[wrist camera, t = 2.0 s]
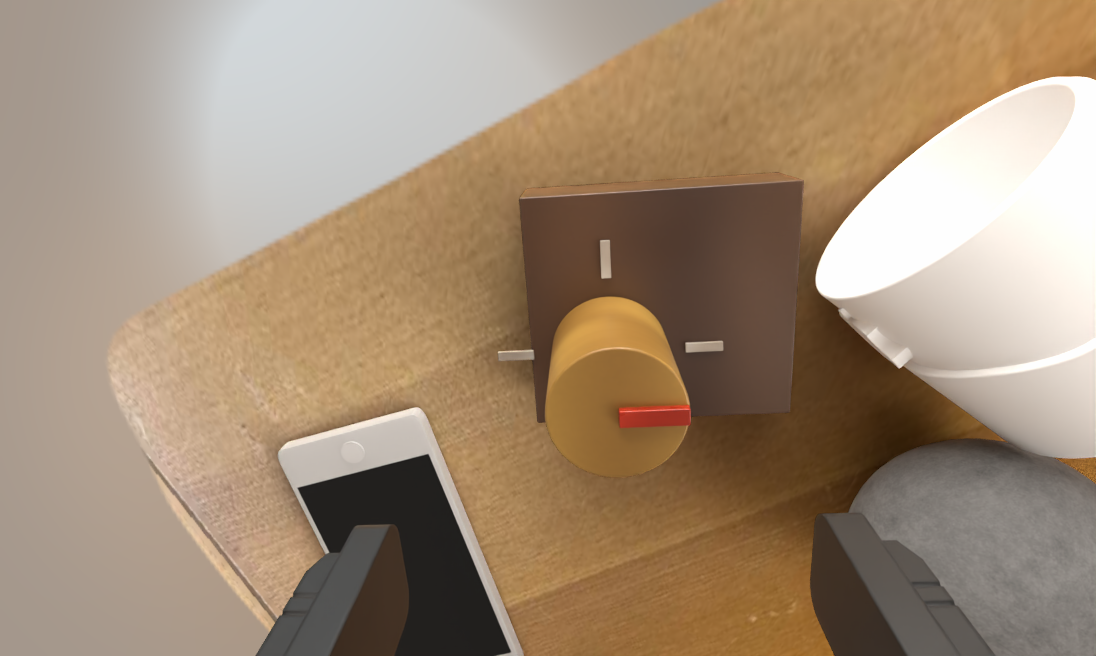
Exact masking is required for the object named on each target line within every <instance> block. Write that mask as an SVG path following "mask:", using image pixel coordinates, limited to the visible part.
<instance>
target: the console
mask: <svg viewBox="0 0 1096 656" xmlns="http://www.w3.org/2000/svg"><path fill="white" fill-rule="evenodd" d="M803 188H804V180H801V179H798V178H795V177H792V176H788V175H785V174H782V173H778V172H775V173H760V174H744V175H729V176H713V177H698V178H682V179H667V180H651V181H636V182H620V183H605V184H589V185H574V186H558V187H543V188H527V189H526V190H525V191H524V193H523V194H522V195H521V197H520V198H519V203H520V216H521V228H522V240H523V252H524V264H525V276H526V289H527V301H528V313H529V325H530V337H531V350H518V351H498V361H514V360H532V362H533V374H534V386H535V398H536V411H537V422H538V423H542V422H546V421H545V403H546V395H547V386H548V378H549V369H550V361H551V352H552V344H553V339H554V335H555V332H556V330H557V328H558V326H559V324H560V323H561V321H562V320H563V319H564V317H565V316H566V315H567V314H568V313H569V312H570V311H571V310H573V309H574V308H575V307H577V306H578V305H580V304H582V303H584V302H586V301H589V300H591V299H595V298H599V297H621V298H626V299H629V300H632V301H634V302H637V303H639V304H640V305H642V306H644V307H645V308H646V309H648V310H649V311H650V312H651V313H652V314H653V315H654V316H655V317H656V319H657V320H658V321H659V323H660V325H661V326H662V328H663V331H664V333H665V336H666V339H667V341H668V344H669V346H670V349H671V352H672V354H673V357H674V359H675V362H676V365H677V367H678V370H679V373H680V375H681V378H682V380H683V383H684V386H685V388H686V391H687V393H688V397H689V402H690V409H691V417H694V416H719V415H744V414H770V413H790V405H791V388H792V372H793V355H794V338H795V322H796V305H797V288H798V271H799V255H800V238H801V221H802V205H803Z"/></svg>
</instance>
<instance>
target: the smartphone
mask: <svg viewBox="0 0 1096 656" xmlns="http://www.w3.org/2000/svg"><path fill="white" fill-rule="evenodd" d="M278 460H279V462H280V465H281V467H282V469H283V471H284V473H285V475H286V477H287V479H288V481H289V483H290V485H291V487H292V489H293V491H294V493H295V495H296V497H297V499H298V501H299V503H300V505H301V507H302V509H303V511H304V513H305V515H306V517H307V519H308V521H309V523H310V525H311V527H312V529H313V531H314V533H315V535H316V537H317V539H318V541H319V543H320V545H321V547H322V549H323V551H324V553H325V555H326V554H327V553H340V552H341V550H342V548H343V546H344V544H345V543H346V541H347V539H348V537H349V535H350V533H351V532H352V530H353V528H354V527H355V526H357V525H390V524H394V525H395V526H396V527H397V529H398V532H399V537H400V542H401V548H402V554H403V559H404V565H405V571H406V576H407V582H408V588H409V607H408V614H407V619H406V623H405V626H404V629H403V632H402V635H401V638H400V640H399V643H398V646H397V649H396V652H395V655H394V656H524V654H523V651H522V648H521V646H520V644H519V641H518V639H517V636H516V634H515V631H514V629H513V626H512V624H511V622H510V619H509V617H508V614H507V612H506V609H505V607H504V604H503V602H502V600H501V597H500V595H499V592H498V590H497V587H496V585H495V583H494V580H493V578H492V575H491V573H490V570H489V568H488V565H487V563H486V561H485V558H484V556H483V553H482V551H481V548H480V546H479V543H478V541H477V539H476V536H475V534H474V531H473V529H472V526H471V524H470V521H469V519H468V517H467V514H466V512H465V509H464V507H463V504H462V502H461V500H460V497H459V495H458V492H457V490H456V487H455V485H454V482H453V480H452V478H451V475H450V473H449V470H448V468H447V465H446V463H445V460H444V458H443V456H442V453H441V451H440V448H439V446H438V443H437V441H436V439H435V436H434V434H433V431H432V429H431V426H430V424H429V421H428V419H427V417H426V415H425V413H424V412H423V411H422V410H421V409H420V408H417V407H415V408H411V409H407V410H404V411H400V412H396V413H393V414H389V415H385V416H382V417H378V418H374V419H371V420H367V421H363V422H359V423H356V424H352V425H348V426H345V427H341V428H337V429H334V430H330V431H326V432H323V433H319V434H315V435H312V436H308V437H304V438H301V439H297V440H293V441H289V442H287V443H286V444H285V445H284V446H283V447H282V448H281V449H280V451H279V452H278Z"/></svg>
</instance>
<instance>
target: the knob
mask: <svg viewBox="0 0 1096 656" xmlns="http://www.w3.org/2000/svg"><path fill="white" fill-rule="evenodd" d="M545 421H546V427H547V430H548V433H549V436H550V438H551V440H552V442H553V444H554V445H555V447H556V448H557V450H558V451H559V452H560V453H561V454H562V455H563V456H564V457H565V458H566V459H567V460H568V461H569V462H570V463H572V464H573V465H575V466H576V467H578V468H580V469H582V470H584V471H586V472H589V473H591V474H594V475H598V476H602V477H610V478H623V477H631V476H636V475H639V474H642V473H645V472H648V471H650V470H652V469H654V468H656V467H657V466H659V465H661V464H662V463H663V462H665V461H666V460H667V459H668V458H669V457H670V456H671V455H672V454H673V453H674V452H675V451H676V450H677V448H678V447H679V446H680V444H681V442H682V441H683V439H684V437H685V434H686V432H687V429H688V426H689V425H691V409H690V402H689V397H688V393H687V391H686V388H685V386H684V383H683V380H682V378H681V375H680V373H679V370H678V367H677V365H676V362H675V359H674V357H673V354H672V352H671V349H670V346H669V344H668V341H667V339H666V336H665V333H664V331H663V328H662V326H661V325H660V323H659V321H658V320H657V319H656V317H655V316H654V315H653V314H652V313H651V312H650V311H649V310H648V309H646V308H645V307H644V306H642V305H640V304H639V303H637V302H634V301H632V300H629V299H626V298H621V297H599V298H595V299H591V300H589V301H586V302H584V303H582V304H580V305H578V306H577V307H575V308H574V309H573V310H571V311H570V312H569V313H568V314H567V315H566V316H565V317H564V319H563V320H562V321H561V323H560V324H559V326H558V328H557V330H556V332H555V335H554V339H553V344H552V352H551V361H550V369H549V378H548V386H547V395H546V403H545Z"/></svg>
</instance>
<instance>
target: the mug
mask: <svg viewBox="0 0 1096 656" xmlns="http://www.w3.org/2000/svg"><path fill="white" fill-rule="evenodd" d="M815 280H816V287H817V290H818V291H819V293H820V294H821V295H822V296H823V297H825V298H826V299H827V300H829V301H830V302H831V303H833V304H834V305H836V306H837V307H838V308H840V309H839V310H838V311H839V313H840V314H839V315H840V316H841V317H842V318H843V319H844V320H845V321H846V322H847V323H848V324H849V325H850V326H851V327H852V328H853V329H854V330H855V331H856V332H857V333H858V334H860V335H861V336H862V337H863V338H864V339H865V340H866V341H867V342H868V343H869V344H870V345H871V346H873V347H874V348H875V349H876V350H877V351H878V352H879V353H880V354H881V355H883V356H884V357H885V358H887V359H888V360H889V361H890V362H892V363H893V364H894V365H895V366H896V367H898V368H899V369H900V368H901V367H902V366H904V367H905V368H907V369H908V370H909V371H911V372H912V373H913V374H915V375H916V376H918V377H919V378H920V379H922V380H923V381H924V382H926V383H927V384H929V385H930V386H931V387H933V388H934V389H935V390H937V391H938V392H940V393H941V394H942V395H944V396H945V397H946V398H948V399H949V400H951V401H952V402H953V403H955V404H956V405H957V406H959V407H960V408H962V409H963V410H964V411H966V412H967V413H968V414H970V415H971V416H973V417H974V418H975V419H977V420H978V421H979V422H981V423H982V424H984V425H985V426H986V427H988V428H989V429H991V430H992V431H993V432H995V433H996V434H997V435H999V436H1000V437H1001V438H1003V439H1004V440H1006V441H1007V442H1009V443H1010V444H1012V445H1014V446H1016V447H1018V448H1020V449H1022V450H1025V451H1028V452H1031V453H1034V454H1038V455H1043V456H1048V457H1056V458H1091V457H1096V81H1095V80H1093V79H1090V78H1086V77H1054V78H1048V79H1043V80H1040V81H1036V82H1033V83H1030V84H1027V85H1024V86H1022V87H1019V88H1017V89H1015V90H1012V91H1010V92H1008V93H1006V94H1004V95H1002V96H1000V97H998V98H996V99H994V100H992V101H990V102H988V103H986V104H985V105H983V106H981V107H979V108H978V109H976V110H974V111H973V112H971V113H969V114H968V115H966V116H964V117H963V118H961V119H960V120H958V121H957V122H955V123H954V124H952V125H951V126H949V127H948V128H946V129H945V130H944V131H942V132H941V133H939V134H938V135H937V136H935V137H934V138H932V139H931V140H930V141H928V142H927V143H926V144H924V145H923V146H922V147H921V148H919V149H918V150H917V151H916V152H914V153H913V154H912V155H911V156H909V157H908V158H907V159H906V160H905V161H903V162H902V163H901V164H900V165H899V166H898V167H897V168H895V169H894V170H893V171H892V172H891V173H890V174H889V175H888V176H887V177H886V178H884V179H883V180H882V181H881V182H880V183H879V184H878V185H877V186H876V187H875V188H874V189H873V190H872V191H871V192H870V193H869V194H868V195H867V196H866V197H865V198H864V199H863V200H862V202H861V203H860V204H859V205H858V206H857V207H856V208H855V209H854V211H853V212H852V213H851V214H850V215H849V216H848V218H847V219H846V220H845V221H844V223H843V224H842V225H841V227H840V228H839V229H838V231H837V232H836V233H835V235H834V236H833V238H832V239H831V241H830V242H829V244H828V246H827V247H826V249H825V251H824V253H823V255H822V257H821V259H820V262H819V265H818V268H817V272H816V279H815Z"/></svg>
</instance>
